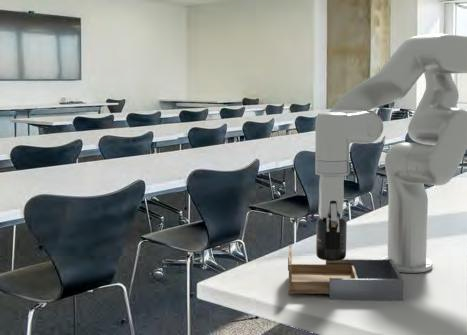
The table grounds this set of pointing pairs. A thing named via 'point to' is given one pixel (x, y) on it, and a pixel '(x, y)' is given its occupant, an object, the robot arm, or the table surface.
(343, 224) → the supplement bottle
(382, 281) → the housing
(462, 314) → the table surface
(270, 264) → the table surface
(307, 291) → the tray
